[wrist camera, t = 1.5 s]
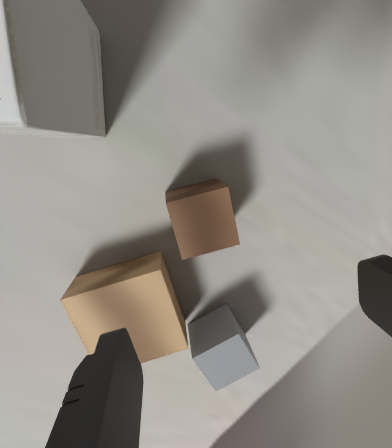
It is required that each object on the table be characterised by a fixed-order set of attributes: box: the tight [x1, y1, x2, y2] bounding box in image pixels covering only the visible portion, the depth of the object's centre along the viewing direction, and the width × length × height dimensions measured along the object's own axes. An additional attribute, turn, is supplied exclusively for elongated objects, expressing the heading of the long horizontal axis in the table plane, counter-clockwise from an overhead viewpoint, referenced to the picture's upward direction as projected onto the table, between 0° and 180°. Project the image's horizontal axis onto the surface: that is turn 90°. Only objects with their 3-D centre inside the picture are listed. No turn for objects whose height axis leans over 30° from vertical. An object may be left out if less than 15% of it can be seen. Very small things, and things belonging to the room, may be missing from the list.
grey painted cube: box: [188, 303, 259, 391], centre depth 25 cm, size 4×4×4 cm
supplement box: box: [0, 0, 106, 138], centre depth 13 cm, size 7×7×13 cm
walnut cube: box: [165, 179, 240, 260], centre depth 21 cm, size 4×4×4 cm
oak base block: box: [60, 251, 188, 363], centre depth 23 cm, size 8×8×4 cm
